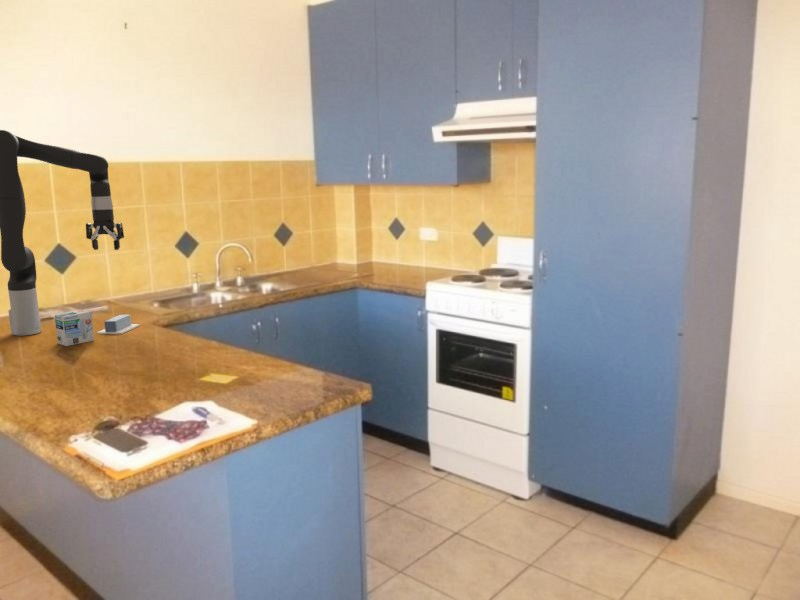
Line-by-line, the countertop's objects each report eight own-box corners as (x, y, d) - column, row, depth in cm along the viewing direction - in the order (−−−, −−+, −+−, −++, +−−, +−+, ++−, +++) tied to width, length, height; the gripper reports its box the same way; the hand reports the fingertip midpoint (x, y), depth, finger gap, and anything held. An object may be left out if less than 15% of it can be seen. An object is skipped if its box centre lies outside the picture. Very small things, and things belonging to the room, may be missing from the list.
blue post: (121, 324, 266) (105, 331, 255) (120, 314, 266) (104, 321, 254) (131, 324, 266) (115, 331, 254) (130, 314, 265) (114, 321, 254)
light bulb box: (66, 346, 236) (62, 316, 234) (56, 343, 240) (53, 314, 238) (95, 340, 245) (92, 311, 243) (85, 337, 249) (82, 309, 247)
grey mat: (96, 333, 254) (96, 332, 254) (116, 325, 268) (115, 323, 268) (122, 334, 253) (121, 332, 253) (140, 325, 267) (139, 324, 267)
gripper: (79, 209, 258) (84, 250, 261) (114, 208, 257) (118, 250, 260) (90, 207, 265) (94, 248, 269) (124, 207, 264) (128, 248, 267)
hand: (106, 249), depth 264 cm, fingers open, 8 cm apart
